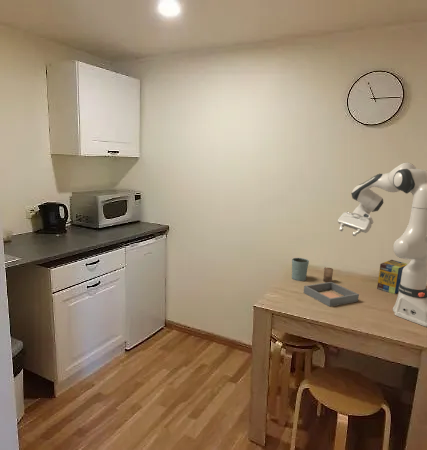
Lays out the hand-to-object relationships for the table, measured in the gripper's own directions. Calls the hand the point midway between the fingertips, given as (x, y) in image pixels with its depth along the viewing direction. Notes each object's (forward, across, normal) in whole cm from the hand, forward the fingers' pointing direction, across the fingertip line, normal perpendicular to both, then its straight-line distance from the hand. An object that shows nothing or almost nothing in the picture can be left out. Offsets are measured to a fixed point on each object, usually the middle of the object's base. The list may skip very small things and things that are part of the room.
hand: (346, 232), depth 221 cm
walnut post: (+29, 0, +12) cm, 32 cm away
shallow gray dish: (+41, +17, -4) cm, 45 cm away
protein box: (+11, +28, +29) cm, 41 cm away
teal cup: (+38, -12, +4) cm, 40 cm away
